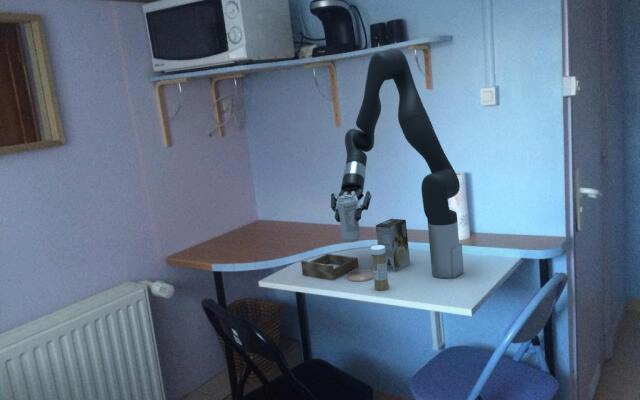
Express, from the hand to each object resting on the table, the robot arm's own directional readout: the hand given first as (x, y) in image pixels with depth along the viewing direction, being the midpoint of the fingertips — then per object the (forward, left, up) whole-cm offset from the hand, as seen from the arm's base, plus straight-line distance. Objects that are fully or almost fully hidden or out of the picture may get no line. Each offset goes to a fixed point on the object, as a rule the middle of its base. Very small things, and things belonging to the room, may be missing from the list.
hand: (347, 220), depth 182 cm
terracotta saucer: (-2, -2, -20) cm, 20 cm away
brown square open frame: (+11, -2, -20) cm, 23 cm away
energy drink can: (+1, -2, -8) cm, 8 cm away
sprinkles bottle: (-15, +4, -20) cm, 25 cm away
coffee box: (-8, -14, -20) cm, 25 cm away
